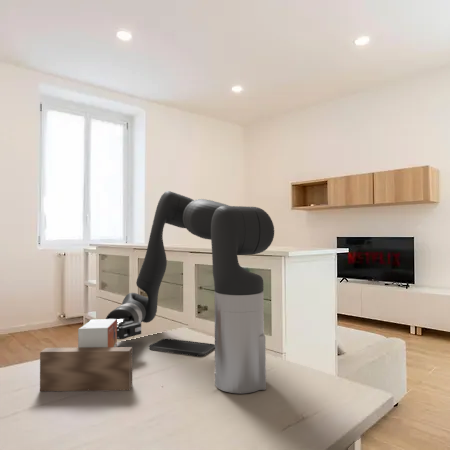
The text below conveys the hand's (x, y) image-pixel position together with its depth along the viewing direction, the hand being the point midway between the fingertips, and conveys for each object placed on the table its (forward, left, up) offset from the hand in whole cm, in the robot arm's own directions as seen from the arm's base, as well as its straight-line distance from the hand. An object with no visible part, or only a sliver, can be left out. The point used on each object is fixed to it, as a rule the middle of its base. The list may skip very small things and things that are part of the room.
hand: (102, 339), depth 77 cm
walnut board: (0, +9, -6) cm, 11 cm away
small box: (-1, +4, -6) cm, 8 cm away
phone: (-15, -14, -7) cm, 22 cm away
